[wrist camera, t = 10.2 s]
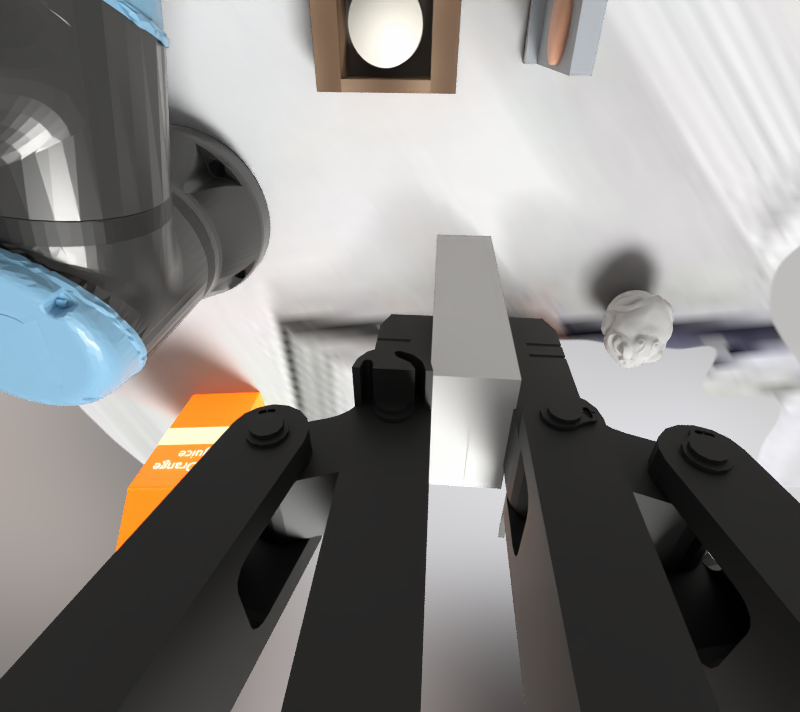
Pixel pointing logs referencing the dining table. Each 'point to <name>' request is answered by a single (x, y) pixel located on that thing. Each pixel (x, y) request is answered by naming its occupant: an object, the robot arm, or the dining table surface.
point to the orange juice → (181, 452)
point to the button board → (417, 74)
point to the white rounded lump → (637, 327)
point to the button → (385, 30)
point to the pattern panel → (564, 35)
